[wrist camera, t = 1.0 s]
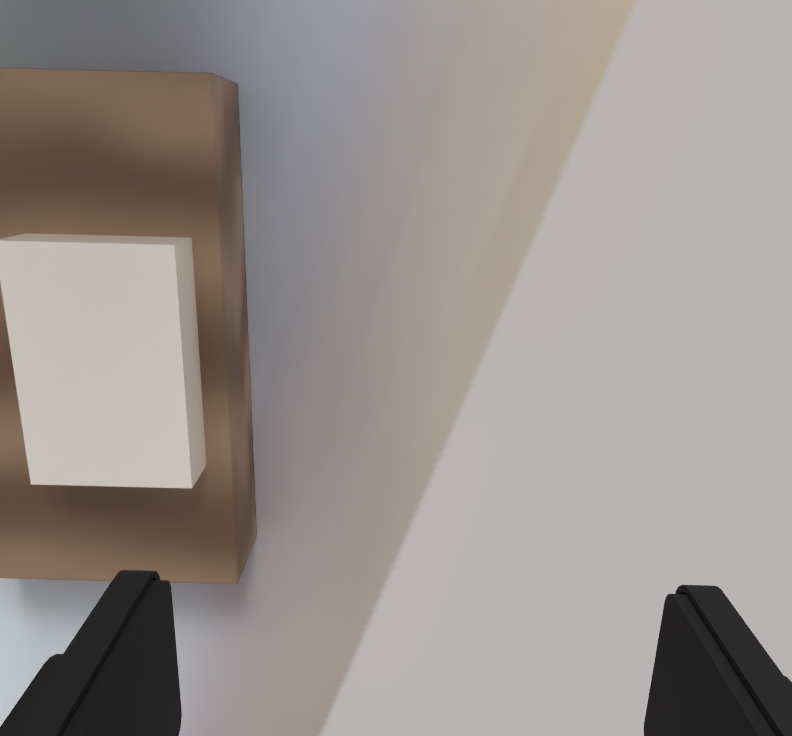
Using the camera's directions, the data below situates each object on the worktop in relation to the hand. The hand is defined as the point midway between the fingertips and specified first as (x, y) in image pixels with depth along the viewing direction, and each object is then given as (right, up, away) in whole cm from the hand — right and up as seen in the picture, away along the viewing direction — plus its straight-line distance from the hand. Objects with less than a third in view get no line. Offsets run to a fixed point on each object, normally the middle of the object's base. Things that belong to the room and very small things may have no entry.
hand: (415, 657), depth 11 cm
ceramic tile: (-11, +5, +15) cm, 19 cm away
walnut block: (-13, +6, +19) cm, 24 cm away
